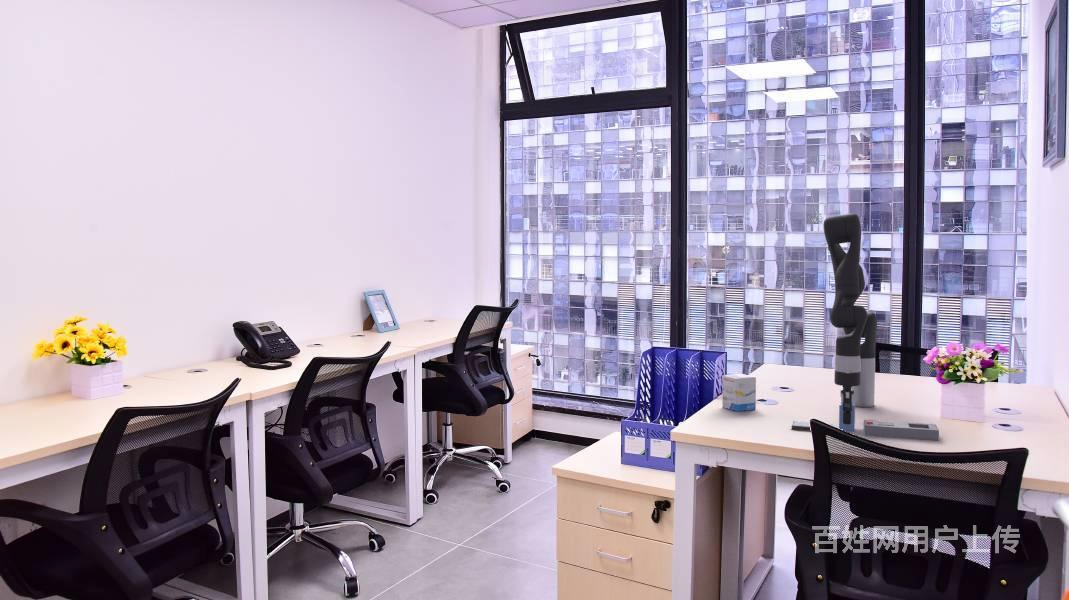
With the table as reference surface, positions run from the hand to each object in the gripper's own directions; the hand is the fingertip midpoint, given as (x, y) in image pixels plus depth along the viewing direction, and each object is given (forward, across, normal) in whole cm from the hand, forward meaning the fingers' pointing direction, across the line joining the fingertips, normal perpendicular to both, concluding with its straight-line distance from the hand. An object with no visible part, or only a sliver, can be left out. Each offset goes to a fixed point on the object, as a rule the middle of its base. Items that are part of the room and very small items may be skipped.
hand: (846, 421), depth 243 cm
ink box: (+3, -21, -35) cm, 41 cm away
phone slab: (+3, +2, -10) cm, 11 cm away
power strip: (+3, +2, +15) cm, 15 cm away
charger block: (+3, 0, 0) cm, 3 cm away
